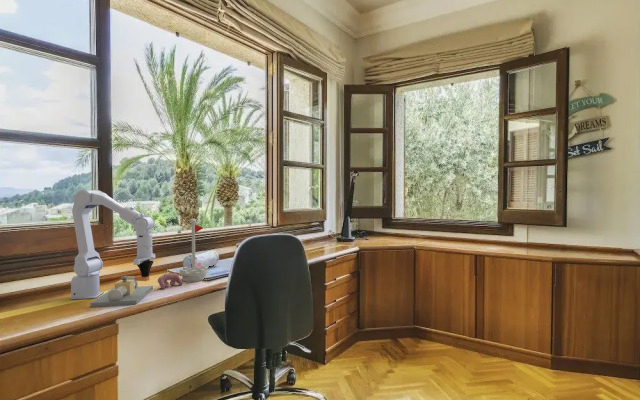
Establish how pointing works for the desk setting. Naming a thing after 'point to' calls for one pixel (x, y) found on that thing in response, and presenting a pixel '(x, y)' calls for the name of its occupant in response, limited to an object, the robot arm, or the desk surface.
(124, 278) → the valve lever
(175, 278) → the pink animal figurine
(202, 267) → the flag stand
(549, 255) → the desk surface
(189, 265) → the pencil case
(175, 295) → the desk surface
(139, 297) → the valve board
